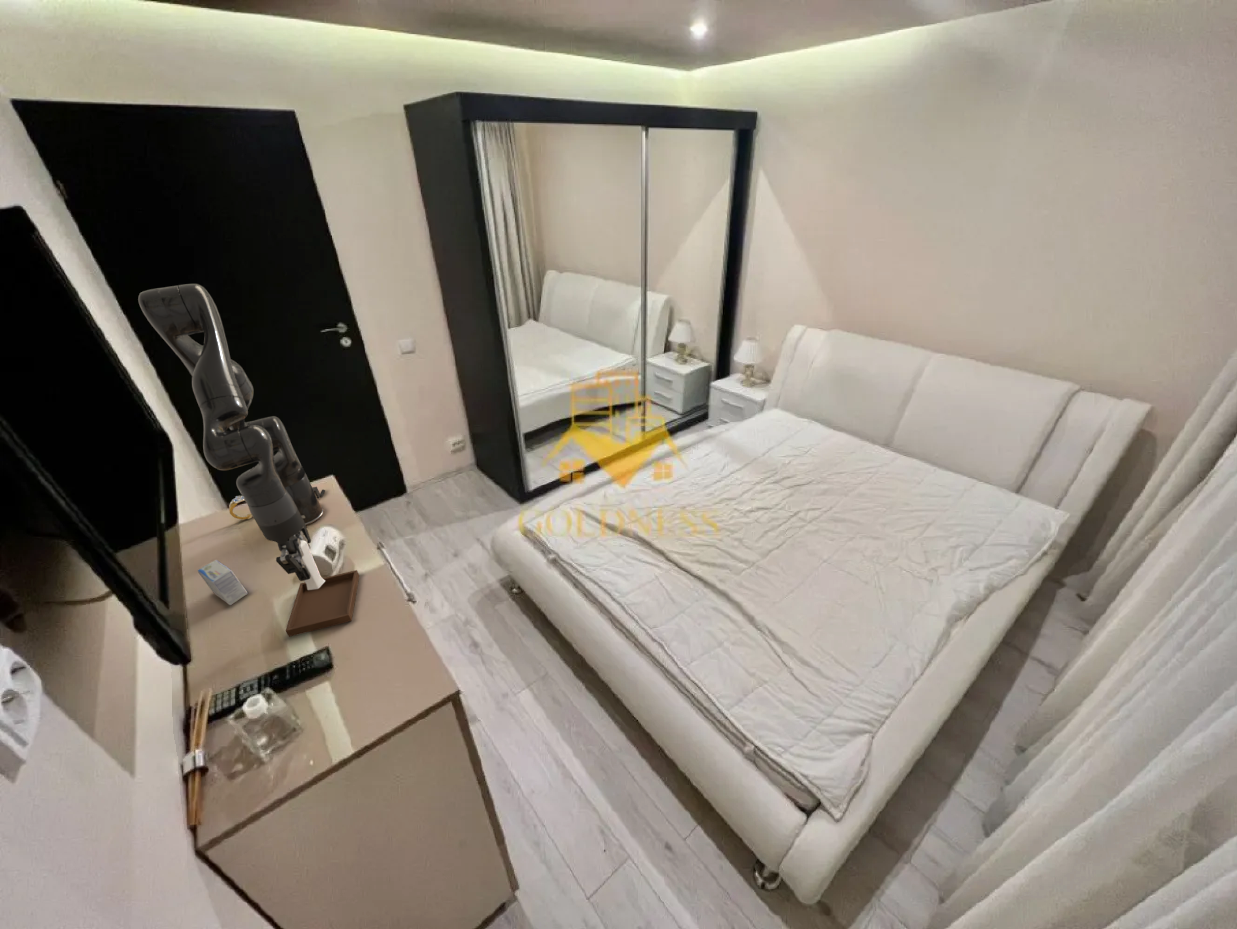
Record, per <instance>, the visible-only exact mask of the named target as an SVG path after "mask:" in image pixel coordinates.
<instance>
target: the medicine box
mask: <svg viewBox="0 0 1237 929" xmlns="http://www.w3.org/2000/svg"><path fill="white" fill-rule="evenodd" d="M197 573H198V574H199V576H200V577H201V578H202V580H203V581H204V582H205V584H206V585H207V586H208V588H209V589H210V590H211V591H212V593H213V594H214V595H216V596H217V597H218V598H219V599H221V600H222V601H223V602H224V603H226V604H227V605H228V606H232V605H233V604H235V603H236V602H238V601H239V600H241V599H242V598H243V597H245V596H247V595H248V594H249V593H248V591H247V590H246V588H245V586H243V584H242V583H241V581H240V580H239V578H238V577H237V576H236V573H234V571H233V570H232V569H230V568H229V567H228V566H226V565H224V564H223V563H221V562H220V561H219V560H217V559H215V560H213V561H211V562H209V563H207V564H205V565H203V566H202V567H201V568H199V569H197Z"/></svg>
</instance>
